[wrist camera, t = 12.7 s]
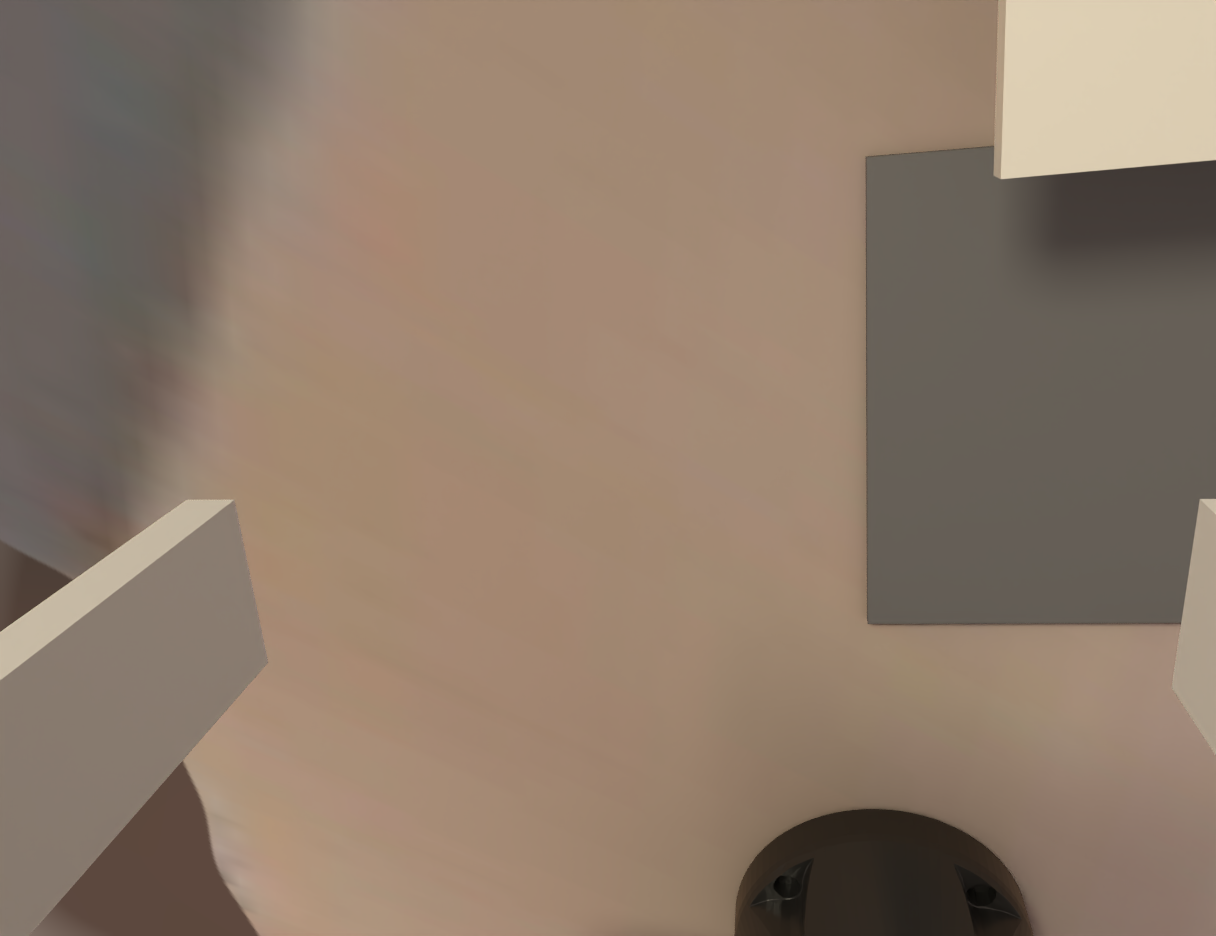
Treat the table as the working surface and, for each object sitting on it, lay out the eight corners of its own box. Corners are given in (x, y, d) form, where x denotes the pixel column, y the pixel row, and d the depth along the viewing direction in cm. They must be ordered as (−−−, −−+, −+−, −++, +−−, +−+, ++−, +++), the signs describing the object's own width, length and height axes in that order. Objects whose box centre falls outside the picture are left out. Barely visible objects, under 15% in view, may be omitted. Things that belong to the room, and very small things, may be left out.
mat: (1363, 616, 44) (1369, 622, 44) (867, 618, 48) (867, 623, 47) (1462, 107, 37) (1471, 107, 36) (865, 156, 40) (866, 157, 40)
